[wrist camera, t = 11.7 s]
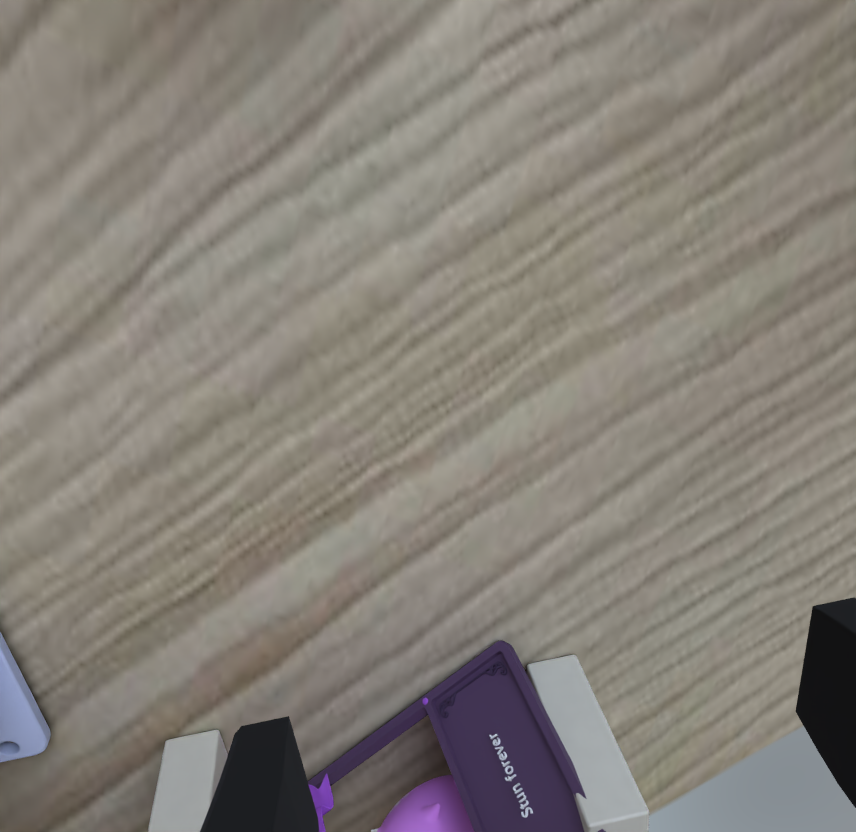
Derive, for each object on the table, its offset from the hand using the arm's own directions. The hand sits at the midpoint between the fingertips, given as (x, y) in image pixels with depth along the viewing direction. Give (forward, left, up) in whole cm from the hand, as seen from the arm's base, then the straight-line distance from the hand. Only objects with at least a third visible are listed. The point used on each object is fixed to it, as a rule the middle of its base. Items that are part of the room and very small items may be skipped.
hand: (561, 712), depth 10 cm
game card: (-1, -12, -10) cm, 16 cm away
